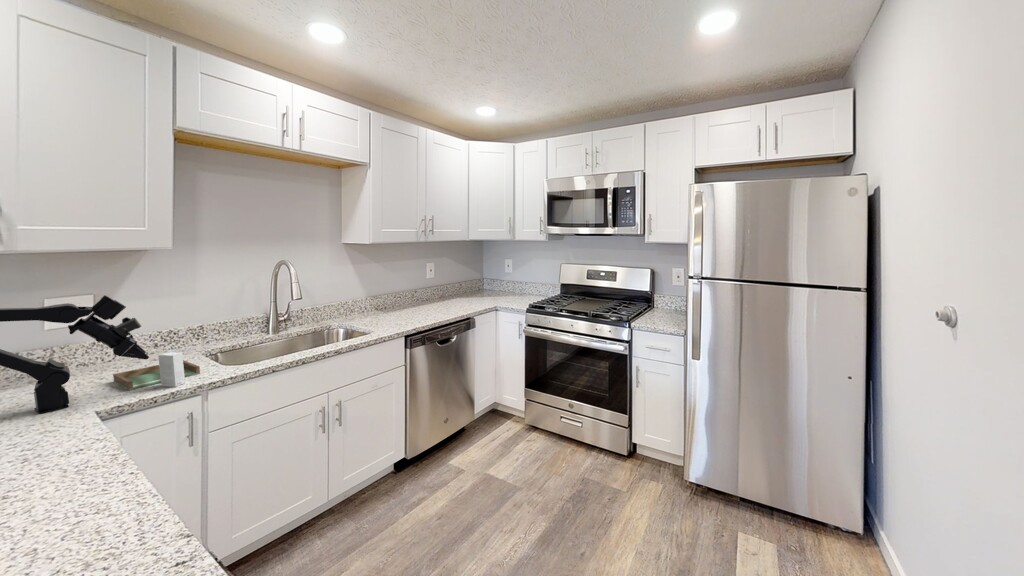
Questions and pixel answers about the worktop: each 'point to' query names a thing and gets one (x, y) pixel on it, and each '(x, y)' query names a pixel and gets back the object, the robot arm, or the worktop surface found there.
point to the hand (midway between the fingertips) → (146, 355)
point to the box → (149, 376)
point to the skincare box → (171, 369)
